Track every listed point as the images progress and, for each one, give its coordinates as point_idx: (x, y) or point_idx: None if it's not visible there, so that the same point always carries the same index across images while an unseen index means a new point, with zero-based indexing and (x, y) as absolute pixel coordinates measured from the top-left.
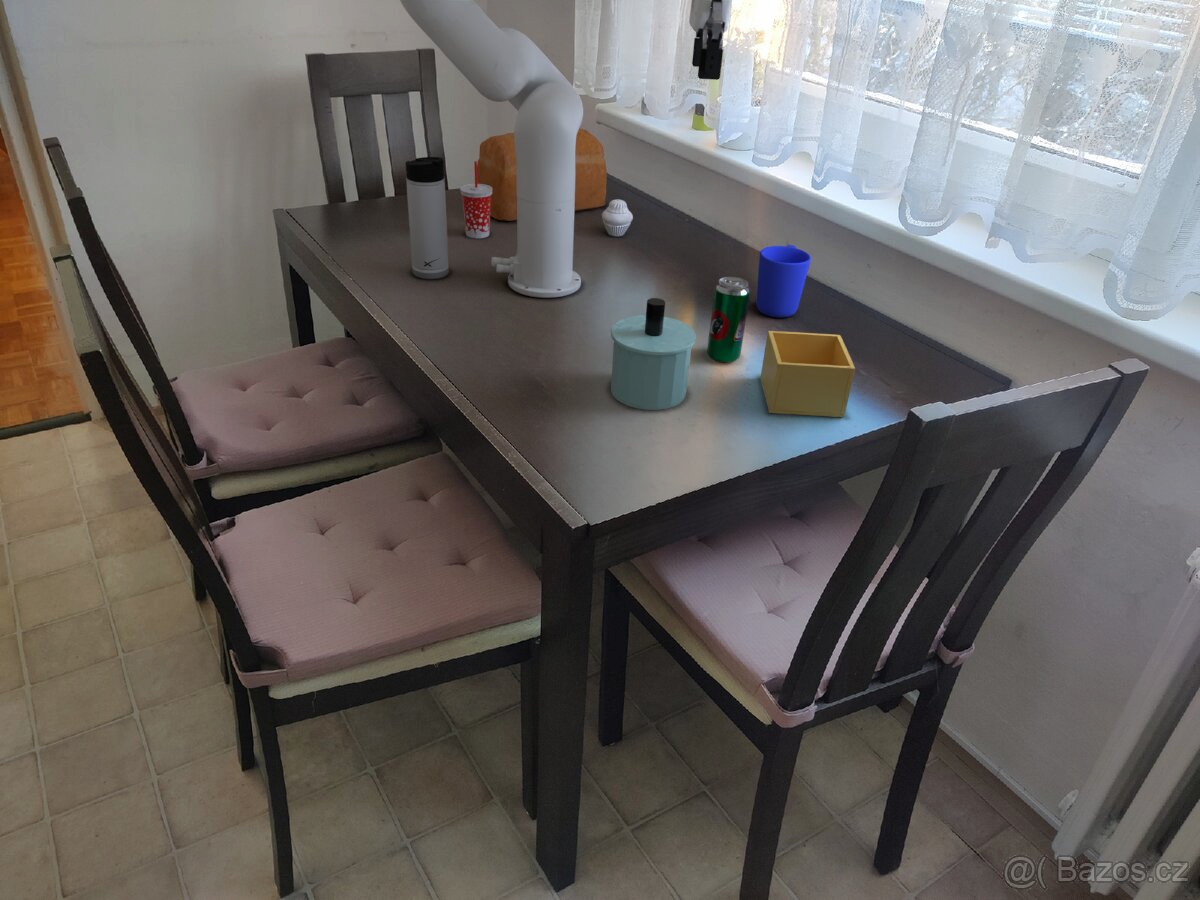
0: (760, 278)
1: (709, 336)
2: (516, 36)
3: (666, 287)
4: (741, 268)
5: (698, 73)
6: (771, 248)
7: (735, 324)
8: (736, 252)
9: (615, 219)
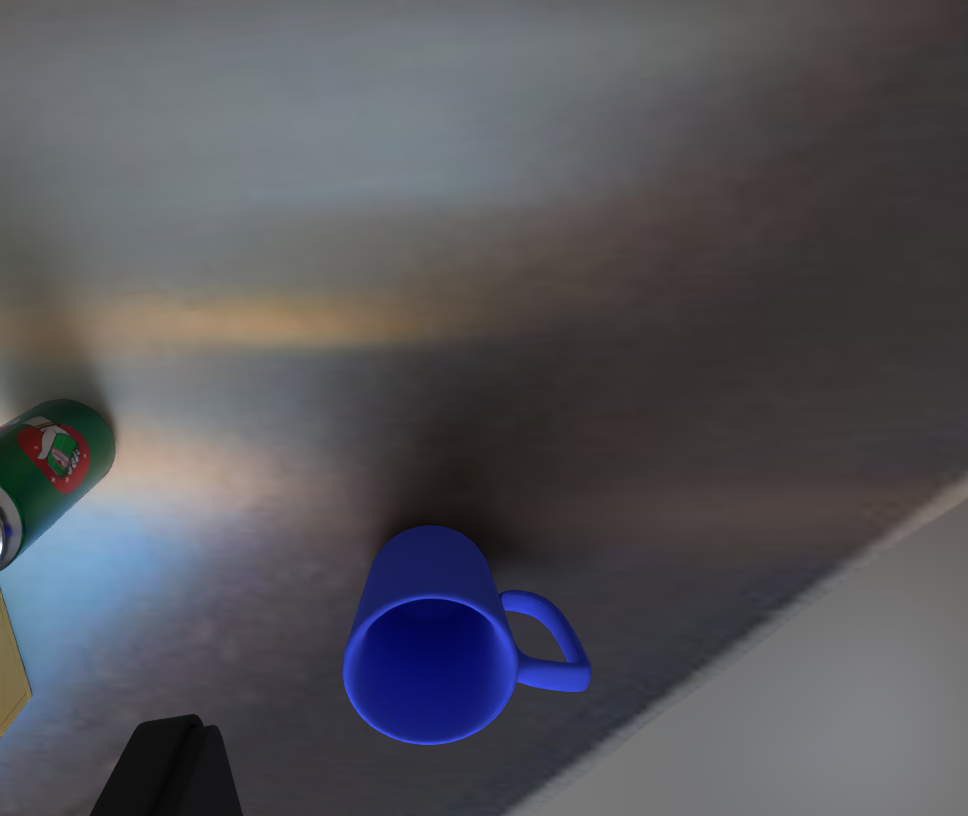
0: (396, 566)
1: (21, 416)
2: None
3: (534, 242)
4: (748, 470)
5: (129, 752)
6: (493, 625)
7: None
8: (888, 450)
9: None
